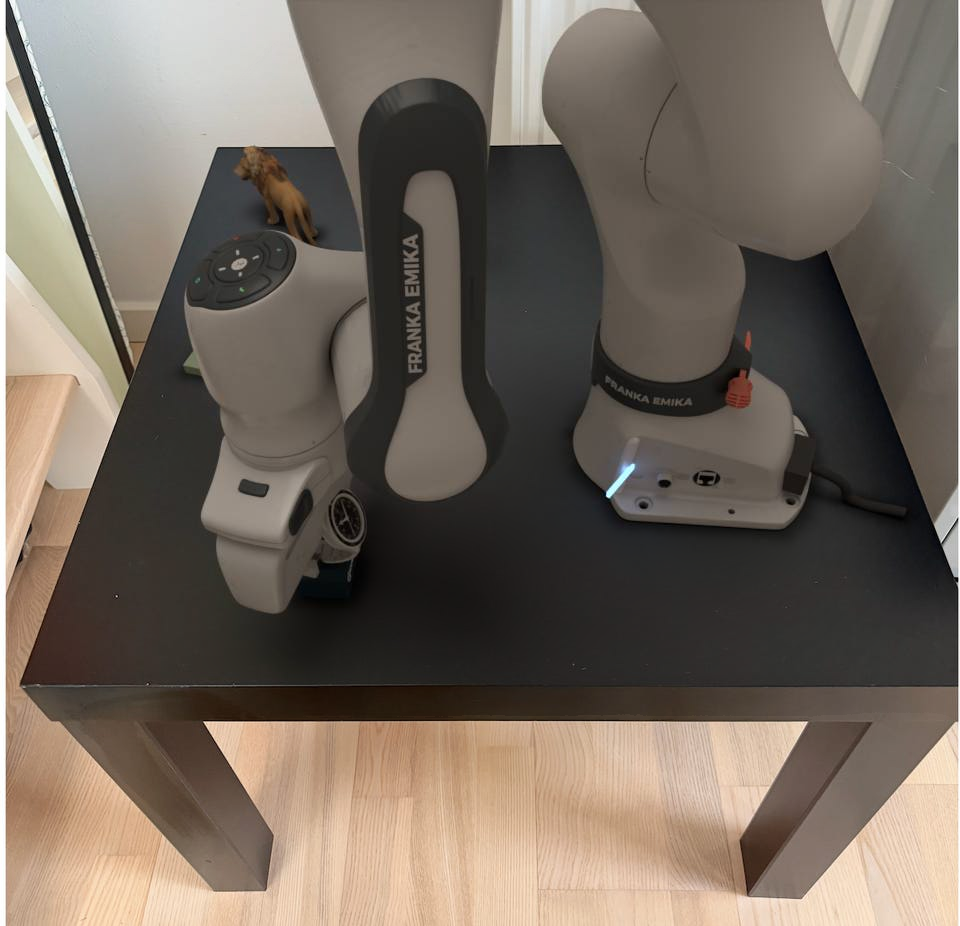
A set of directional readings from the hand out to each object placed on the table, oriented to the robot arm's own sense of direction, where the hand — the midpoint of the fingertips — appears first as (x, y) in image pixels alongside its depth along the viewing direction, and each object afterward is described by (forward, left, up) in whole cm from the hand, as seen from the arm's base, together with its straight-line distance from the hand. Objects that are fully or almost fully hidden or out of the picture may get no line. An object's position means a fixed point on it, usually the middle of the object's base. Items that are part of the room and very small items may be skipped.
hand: (324, 543), depth 77 cm
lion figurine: (+25, -45, -4) cm, 51 cm away
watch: (0, 0, -4) cm, 4 cm away
